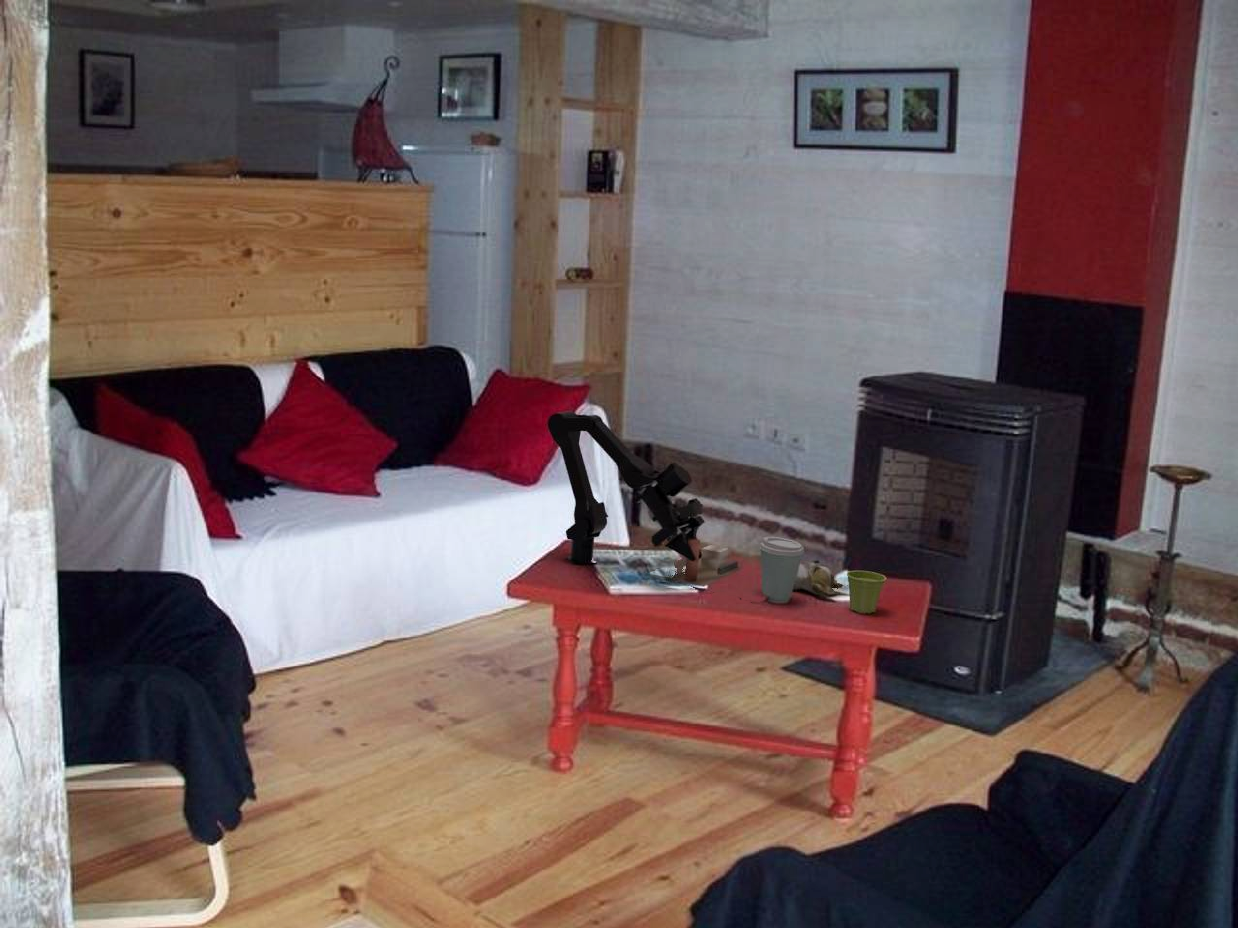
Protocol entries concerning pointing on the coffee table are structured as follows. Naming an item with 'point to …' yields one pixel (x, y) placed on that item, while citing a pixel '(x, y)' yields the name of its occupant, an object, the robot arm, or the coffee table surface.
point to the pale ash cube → (713, 557)
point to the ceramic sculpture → (816, 579)
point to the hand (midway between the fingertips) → (697, 558)
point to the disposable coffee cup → (779, 567)
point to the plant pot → (864, 590)
